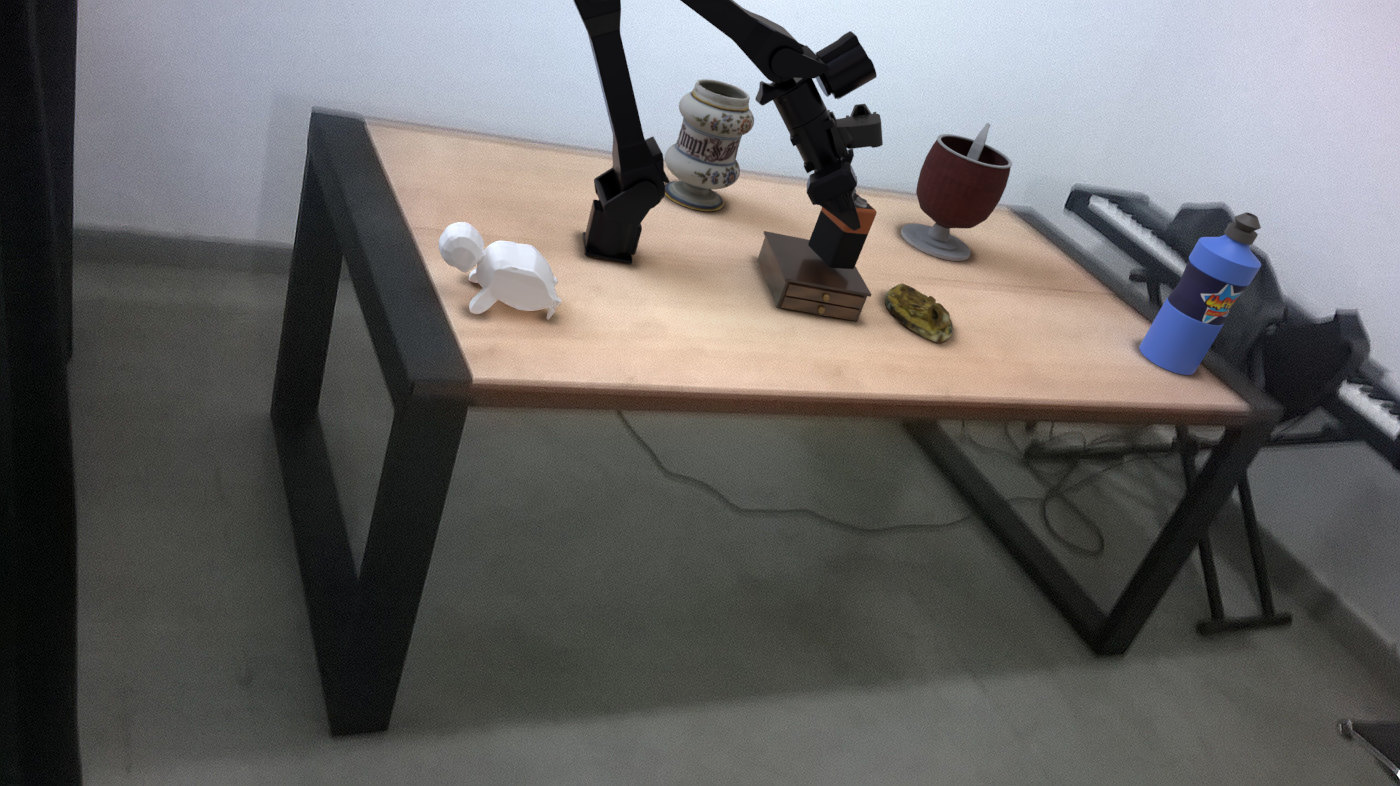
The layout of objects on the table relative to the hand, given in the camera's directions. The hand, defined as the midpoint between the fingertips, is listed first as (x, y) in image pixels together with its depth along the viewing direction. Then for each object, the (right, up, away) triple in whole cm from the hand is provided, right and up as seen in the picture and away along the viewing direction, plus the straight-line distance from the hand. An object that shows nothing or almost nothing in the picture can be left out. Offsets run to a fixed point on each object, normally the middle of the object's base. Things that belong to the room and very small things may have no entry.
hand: (856, 218), depth 146 cm
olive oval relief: (+10, -13, +9) cm, 19 cm away
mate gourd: (+19, +2, +37) cm, 42 cm away
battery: (-3, -5, +3) cm, 7 cm away
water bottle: (+52, -19, +21) cm, 59 cm away
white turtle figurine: (-46, -13, -21) cm, 52 cm away
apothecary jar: (-23, +7, +23) cm, 33 cm away
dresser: (-6, -9, +6) cm, 13 cm away
